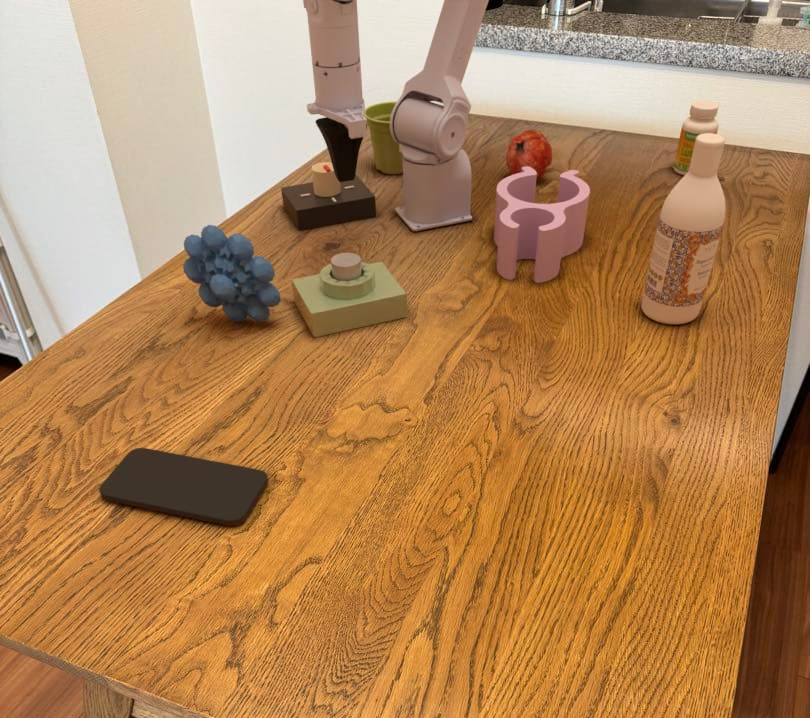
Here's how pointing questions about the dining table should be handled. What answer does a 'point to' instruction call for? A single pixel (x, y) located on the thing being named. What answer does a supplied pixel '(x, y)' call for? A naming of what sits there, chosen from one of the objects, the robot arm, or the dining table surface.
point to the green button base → (349, 299)
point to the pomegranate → (529, 153)
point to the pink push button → (346, 267)
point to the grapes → (230, 274)
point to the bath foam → (687, 238)
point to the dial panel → (328, 204)
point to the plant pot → (384, 138)
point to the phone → (185, 486)
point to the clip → (538, 223)
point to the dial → (325, 180)
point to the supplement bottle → (694, 132)
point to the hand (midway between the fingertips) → (345, 179)
